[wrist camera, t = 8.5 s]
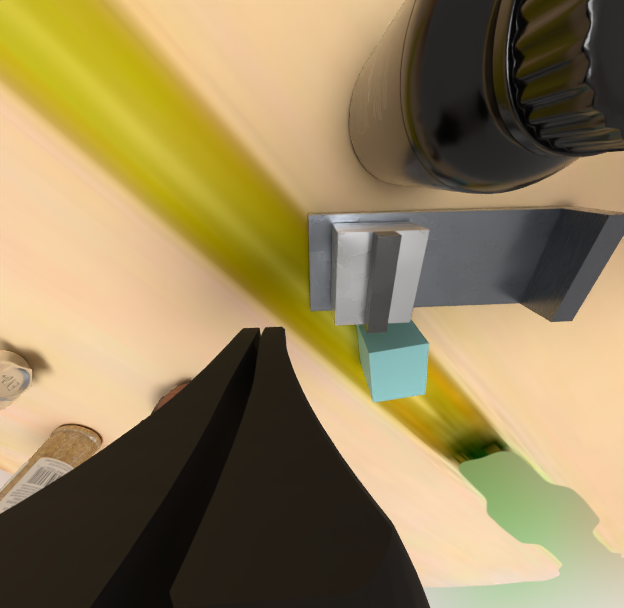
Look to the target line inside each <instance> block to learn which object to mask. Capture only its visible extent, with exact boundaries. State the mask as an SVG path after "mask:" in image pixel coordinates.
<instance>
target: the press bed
mask: <svg viewBox="0 0 624 608" xmlns="http://www.w3.org/2000/svg"><path fill="white" fill-rule="evenodd" d="M405 221H411V222H413V223H415V224H417V225H420V226H422V227H424V228H426V229H428V230H429V235H428V240H427V245H426V249H425V254H424V259H423V263H422V268H421V273H420V277H419V282H418V287H417V292H416V296H415V301H414V306H413V307H432V306H458V305H484V304H510V303H520V304H522V305H524V306H525V307H527V308H529V309H530V310H532V311H534V312H535V313H537V314H539V315H540V316H542V317H544V318H545V319H547V320H549V321H550V322H560V321H572V320H573V318H574V317H575V315H576V313H577V312H578V310H579V308H580V307H581V305H582V303H583V302H584V300H585V299H586V297H587V295H588V294H589V292H590V290H591V289H592V287H593V285H594V284H595V282H596V280H597V279H598V277H599V275H600V274H601V272H602V270H603V269H604V267H605V265H606V264H607V262H608V260H609V259H610V257H611V255H612V254H613V252H614V250H615V249H616V247H617V245H618V244H619V242H620V240H621V239H622V237H623V235H624V213H622V212H614V211H606V210H598V209H591V208H583V207H575V206H564V207H527V208H490V209H453V210H416V211H379V212H342V213H308V231H309V270H310V307H311V311H329V310H331V267H332V224H334V223H369V222H405Z"/></svg>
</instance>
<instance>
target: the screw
mask: <svg viewBox="0 0 624 608" xmlns="http://www.w3.org/2000/svg"><path fill="white" fill-rule="evenodd" d="M30 387H32V369H29V366H28V364H27V362H26V361H25V360H24V359H23V357H21V356H20V355H18V354H16V353H13V352H10V351H4V350H0V410H2V409H4V408H6V407H7V406H9V405H10V404H12V403H13V402H14V401H15V400H16V399H17V398H19V396H20V395H21V394H22V393H24V392H25V391H26V390H28V389H29V388H30Z"/></svg>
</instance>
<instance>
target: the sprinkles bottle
mask: <svg viewBox="0 0 624 608" xmlns="http://www.w3.org/2000/svg"><path fill="white" fill-rule="evenodd" d="M100 446H101V439H100V438H99V436H98V435H97V434H96V433H95V432H93V431H92V430H90V429H87V428H84V427H81V426H76V425H71V426H62V427H59V428H57V429H56V430H55V431H54V432H53V433H52V434H51V436H50V438H49V439H48V440H47V441H46V442H45V443H44V444H43V445H42V446H41V447H40V448H39V449H38V450H37V452H36V453H35V454H34V455H33V456H32V457H31V458H30V459H29V460H28V461H27V462H26V463H24V464H23V465H22V466H21V468H20V469H19V470H18V471H17V472H16V473H15V474H14V475H13V476H12V477H11V478H10V479H9V481H7V482H6V484H5V485H4V486H3V487H2V488H1V489H0V513H2V512H4V511H6V510H7V509H9V508H11V507H12V506H14V505H16V504H18V503H19V502H21V501H23V500H24V499H26V498H28V497H29V496H31V495H33V494H34V493H36V492H37V491H39V490H41V489H42V488H44V487H46V486H47V485H49V484H50V483H52V482H53V481H55V480H57V479H58V478H60V477H61V476H63V475H65V474H66V473H68V472H69V471H71V470H72V469H74V468H76V467H77V466H79V465H80V464H82V463H83V462H85V461H86V460H88V459H89V458H91V456H92V455H93V454H94V453H95V452H96V451H97V450H98V449H99V447H100Z"/></svg>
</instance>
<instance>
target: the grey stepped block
mask: <svg viewBox="0 0 624 608" xmlns="http://www.w3.org/2000/svg"><path fill="white" fill-rule="evenodd" d="M428 235H429V230H428V229H426V228H424V227H422V226H420V225H417V224H415V223H413V222H411V221H405V222H369V223H334V224H332V267H331V310H332V314H333V319H334V323H335V325H358V324H364V326H365V329H366V331H367V333H383V332H387V325H388V323H407V322H410V320H411V315H412V310H413V306H414V301H415V296H416V292H417V287H418V282H419V277H420V273H421V268H422V263H423V259H424V254H425V249H426V245H427V240H428Z"/></svg>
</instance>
